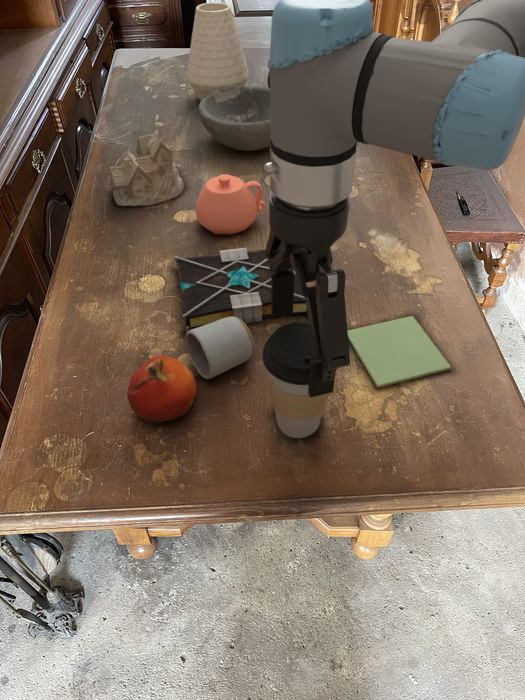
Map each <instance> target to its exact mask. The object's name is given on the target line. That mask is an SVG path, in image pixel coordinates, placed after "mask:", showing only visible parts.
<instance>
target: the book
mask: <svg viewBox="0 0 525 700" xmlns="http://www.w3.org/2000/svg"><path fill="white" fill-rule="evenodd" d="M174 261H175V262H176V267H175V272H176V273H177V274H178V280H179V286H180V294H181V301H182V307H183V308H182V309H183V314H182V320H183V321H184V322H185V331H186V333H187V332H188V331H190V330H192V329H195V328H198V327H201V326H204V325H207V324H210V323H213V322H215V321H218V320H220V319H223V318H227V317H233V316H234V317H238V318H240V319H241V320H242V321H243V322H244V323H245V324H251V323H257V322H263V318H269V317H272V315H271V275H272V274H273V272H271V269H270V267H269V266H270V262H271V259H267V258H266V256H265V249H259V250H252V251H251V250H250V251H248V250H247V247H240V248H233V249H231V248H230V249H223V250H222V249H221V250H219V254H214V255H204V256H203V255H202V256H189V257H180V256H177V255H175V256H174ZM288 271H293V272H294V274H295V279H294V301H293V314H292V315H308V311H307V306H306V300H305V297H304V296H302V295H300V293H299V289H298V284H297V278H296V273H295V271H294V270H293V269H292V268H291V269H288ZM292 315H291V316H292Z"/></svg>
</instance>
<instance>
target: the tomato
mask: <svg viewBox="0 0 525 700" xmlns="http://www.w3.org/2000/svg"><path fill="white" fill-rule="evenodd" d="M197 392H198V391H197V382H196V378H195V376H194V373H193V372H192V371H191V370H190V368H188V367H187V366H186V364H184V362H182V361H181V360H179V359H177V358H174V357H171V356H166V355H156V356H153V357H151V358H149V359H148V360H147V361H146V362H144V364H141V366H140V367H139V368H138V369H137V370H136V371H135V372H134V373H133V375H131V377H130V380H129V385H128V387H127V390H126V396H127V400H128V403H129V406H130V408H131V409H132V411H133V412H134V413H135V414H136V415H137V416H138V417H140V418H141V419H143V420H146V421H147V422H153V423H161V422H164V421H165V422H166V421H173V420H175V419H178V418H180V417H181V416H183V415H184V414H186V413H187V412H188V411H189V410H190V408H191V407H192V405H193V403H194V399H195V397H196V396H197V395H196V394H197Z"/></svg>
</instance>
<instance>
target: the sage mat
mask: <svg viewBox="0 0 525 700" xmlns="http://www.w3.org/2000/svg"><path fill="white" fill-rule="evenodd" d="M347 330H348V342H349V343H350V345H351V347H352V348H353V350H354V351H355V353H356V355H357V356H358V358H359V360H360V362H361V363H362V365H363V366H364V368H365V370H366V371H367V373H368V375H369V377H370V379H371V381H372V382H373V384H374V385H375V386H376V388H378V389H379V388H382V387H386V386H390V385H394V384H398V383H402V382H406V381H411V380H414V379H418V378H422V377H426V376H431V375H433V374H439V373H441V372H446V371H449V370H451V368H452V366H451V365H450V363H449V362H448V360H447V359H446V358H445V357H444V356H443V354H442V352H441V351H440V350H439V349H438V347H437V346H436V345H435V344H434V342H433V340H432V339H431V338H430V337H429V336H428V334H427V333H426V331H425V330H424V328H423V327H422V326H421V325H420V323H419V322H418V321H417V320H416V318H415V317H414V316H413V315H410V316H406V317H401V318H396V319H392V320H388V321H384V322H379V323H374V324H371V325H366V326H361V327H357V328H353V329H347Z"/></svg>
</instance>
